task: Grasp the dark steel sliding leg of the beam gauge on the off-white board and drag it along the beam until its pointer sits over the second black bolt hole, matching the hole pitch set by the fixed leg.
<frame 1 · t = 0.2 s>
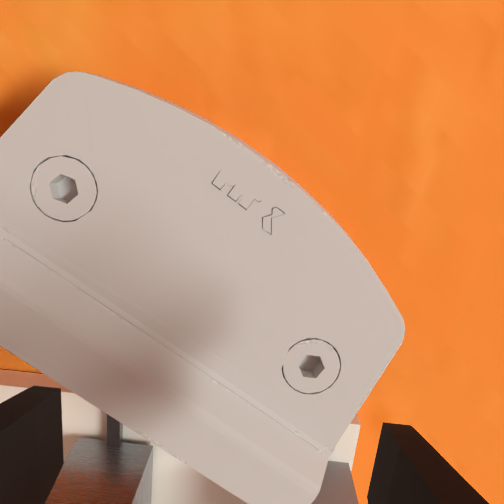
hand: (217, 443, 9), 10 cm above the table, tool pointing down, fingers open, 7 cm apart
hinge: (141, 343, 17), point 2 cm above the table, touching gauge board
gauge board: (132, 450, 21), on the table
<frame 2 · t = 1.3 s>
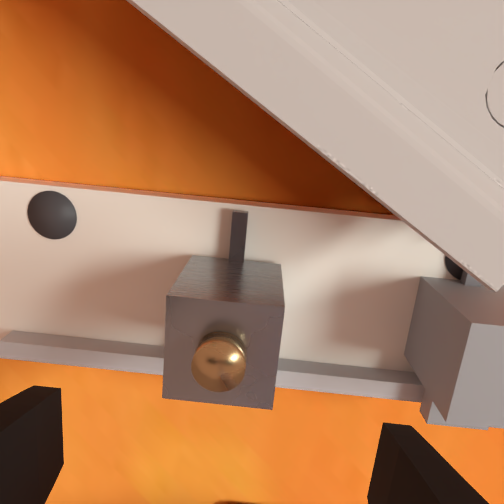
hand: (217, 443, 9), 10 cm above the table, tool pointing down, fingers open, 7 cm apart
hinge: (285, 111, 14), point 2 cm above the table, touching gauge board
sliding leg: (227, 325, 15), point 4 cm above the table, slide at 0.4 cm
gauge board: (243, 288, 19), on the table
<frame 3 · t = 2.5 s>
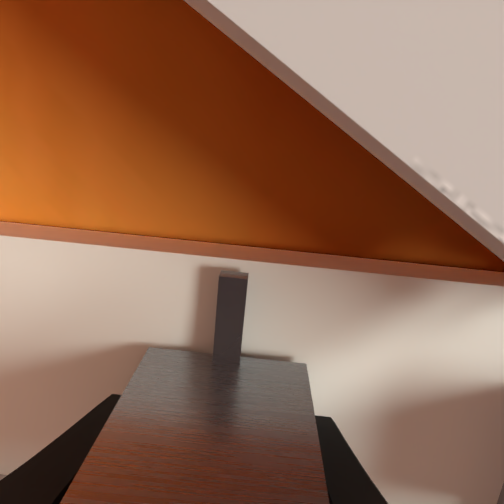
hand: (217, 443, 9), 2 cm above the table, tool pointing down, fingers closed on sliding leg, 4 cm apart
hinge: (302, 84, 7), point 2 cm above the table, touching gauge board
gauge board: (227, 385, 11), on the table
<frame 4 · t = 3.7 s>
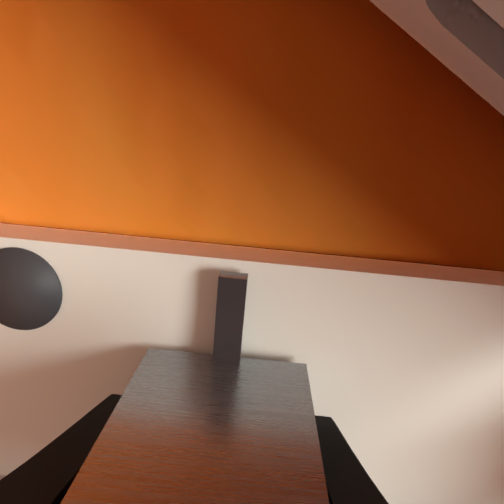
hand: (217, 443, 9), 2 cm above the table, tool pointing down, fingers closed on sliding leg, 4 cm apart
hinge: (478, 101, 7), point 2 cm above the table, touching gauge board
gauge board: (340, 397, 11), on the table
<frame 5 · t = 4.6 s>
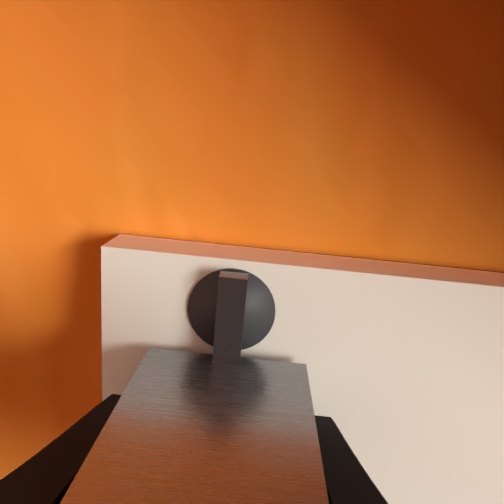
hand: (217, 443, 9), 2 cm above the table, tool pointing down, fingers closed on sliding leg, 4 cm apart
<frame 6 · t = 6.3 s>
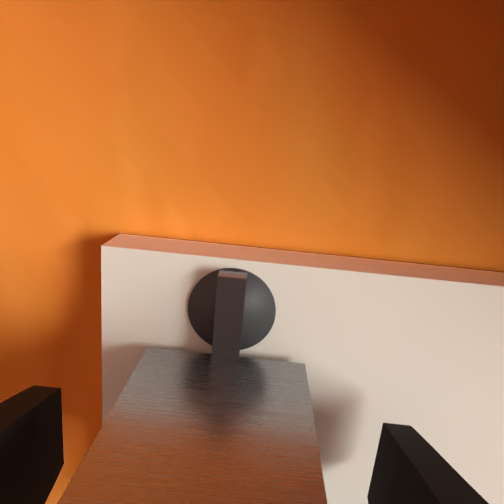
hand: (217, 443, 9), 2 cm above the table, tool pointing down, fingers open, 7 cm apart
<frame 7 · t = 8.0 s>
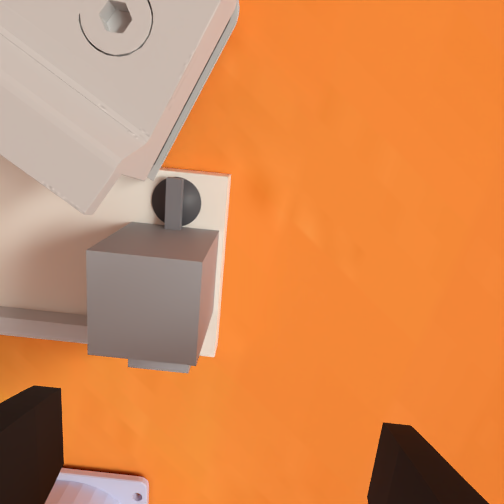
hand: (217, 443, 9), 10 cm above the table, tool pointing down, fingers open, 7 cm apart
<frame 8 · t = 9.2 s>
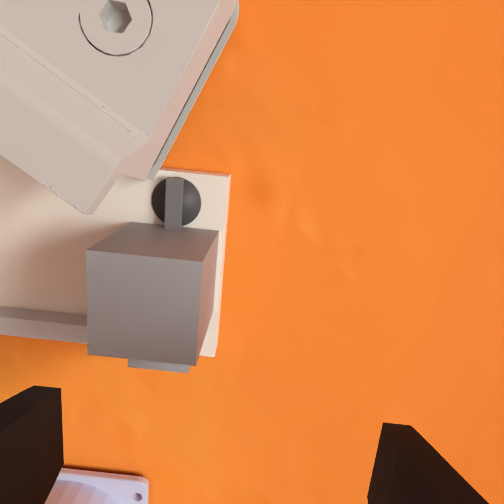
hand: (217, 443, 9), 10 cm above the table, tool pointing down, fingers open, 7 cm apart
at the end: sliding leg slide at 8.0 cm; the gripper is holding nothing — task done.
